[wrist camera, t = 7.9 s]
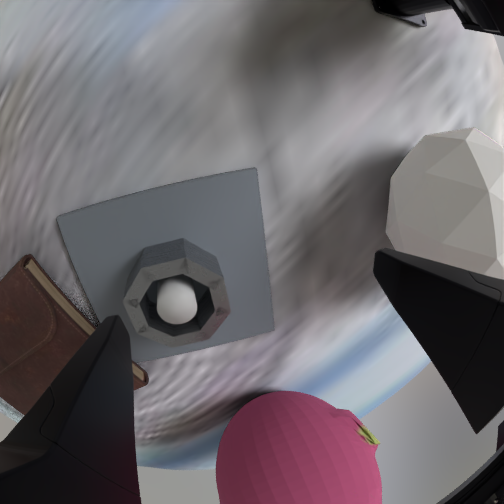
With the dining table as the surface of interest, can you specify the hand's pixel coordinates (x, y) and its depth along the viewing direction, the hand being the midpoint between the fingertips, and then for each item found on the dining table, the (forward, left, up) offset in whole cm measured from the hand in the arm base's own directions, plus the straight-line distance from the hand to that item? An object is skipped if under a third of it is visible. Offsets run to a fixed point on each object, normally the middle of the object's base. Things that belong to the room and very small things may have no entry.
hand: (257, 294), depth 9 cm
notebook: (+21, +10, -11) cm, 26 cm away
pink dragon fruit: (-1, +24, -12) cm, 27 cm away
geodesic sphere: (-18, +2, -12) cm, 22 cm away
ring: (+4, +5, -11) cm, 12 cm away
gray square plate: (+4, +5, -11) cm, 13 cm away
